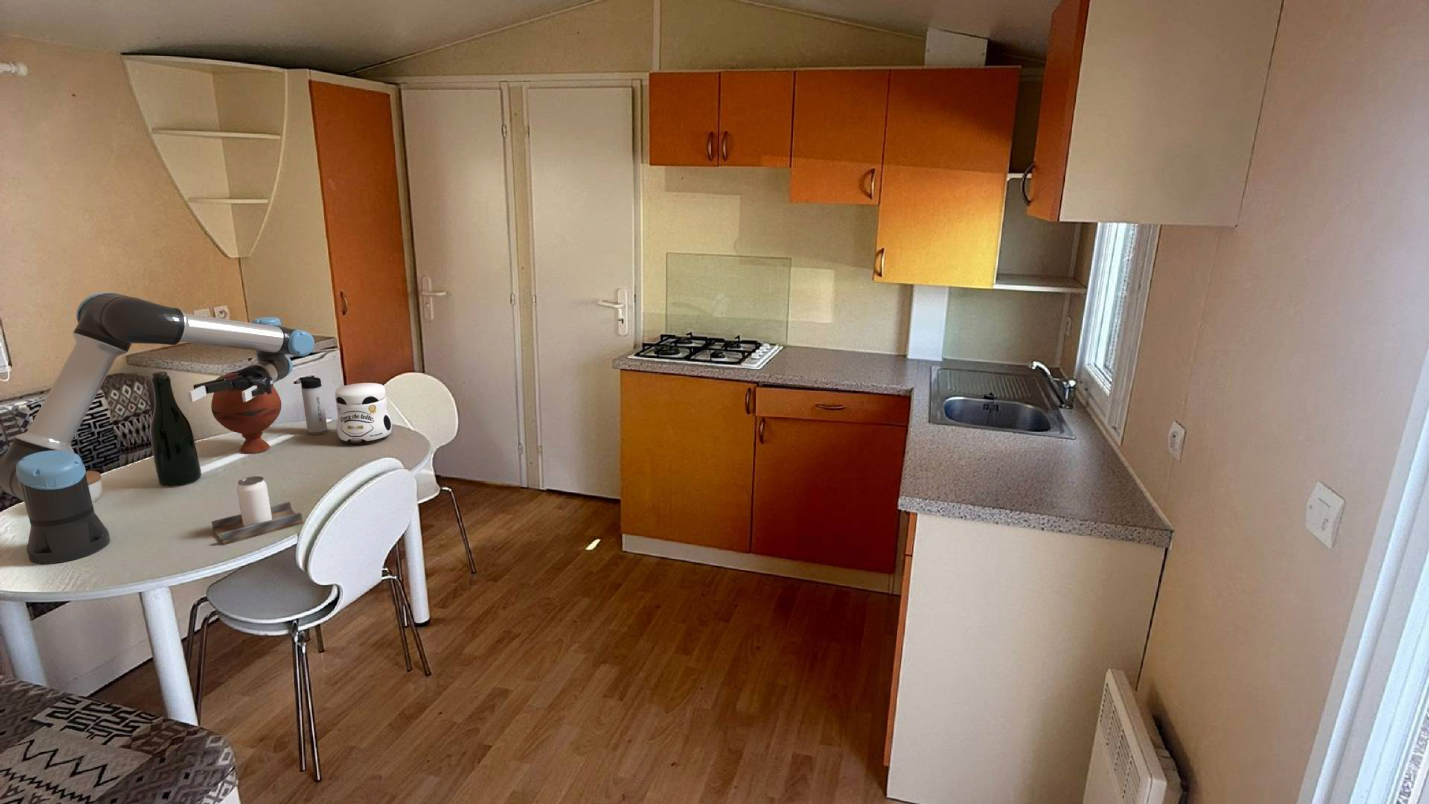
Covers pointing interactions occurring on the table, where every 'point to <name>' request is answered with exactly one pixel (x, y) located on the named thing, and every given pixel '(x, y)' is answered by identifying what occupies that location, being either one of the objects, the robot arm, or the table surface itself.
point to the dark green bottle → (172, 437)
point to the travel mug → (314, 405)
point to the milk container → (362, 413)
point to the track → (236, 531)
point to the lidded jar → (94, 484)
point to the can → (253, 500)
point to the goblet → (246, 415)
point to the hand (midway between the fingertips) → (217, 397)
